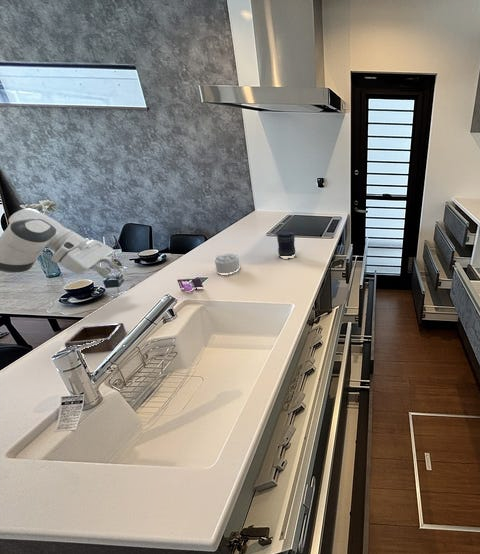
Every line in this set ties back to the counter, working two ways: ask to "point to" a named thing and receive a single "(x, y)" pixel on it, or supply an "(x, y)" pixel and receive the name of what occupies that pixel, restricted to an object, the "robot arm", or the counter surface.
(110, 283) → the watch
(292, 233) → the storage jar
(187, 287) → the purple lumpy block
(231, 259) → the lumpy-topped squat cylinder
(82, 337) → the box
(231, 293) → the counter surface
